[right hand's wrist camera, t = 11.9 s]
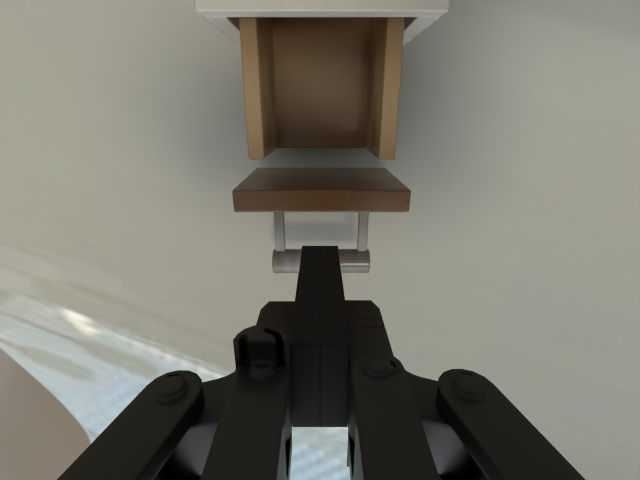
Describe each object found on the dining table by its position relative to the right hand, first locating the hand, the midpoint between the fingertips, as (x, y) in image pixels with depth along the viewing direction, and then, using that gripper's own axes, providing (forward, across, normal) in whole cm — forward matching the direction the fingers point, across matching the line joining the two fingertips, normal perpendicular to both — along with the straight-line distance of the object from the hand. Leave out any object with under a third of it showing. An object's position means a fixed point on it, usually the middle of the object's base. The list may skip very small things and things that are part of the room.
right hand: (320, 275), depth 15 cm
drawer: (+12, 0, +7) cm, 14 cm away
